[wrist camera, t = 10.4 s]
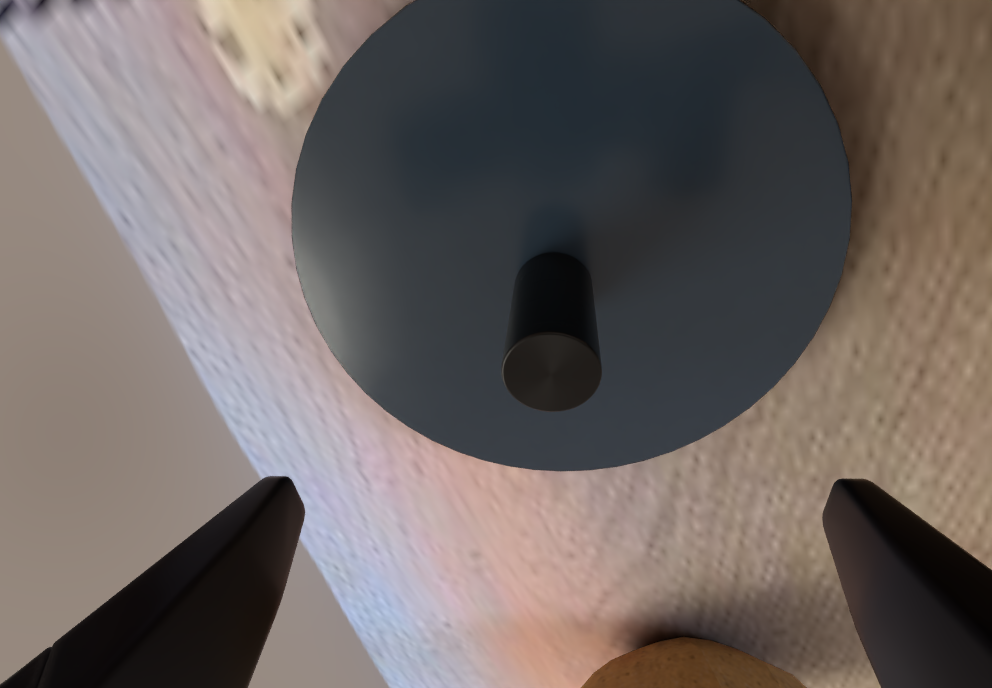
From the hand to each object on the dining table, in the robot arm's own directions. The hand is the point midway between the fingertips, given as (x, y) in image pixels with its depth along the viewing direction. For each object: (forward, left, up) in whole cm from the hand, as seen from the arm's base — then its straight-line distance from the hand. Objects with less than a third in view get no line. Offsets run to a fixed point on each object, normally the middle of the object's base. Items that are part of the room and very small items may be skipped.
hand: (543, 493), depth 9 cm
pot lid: (0, 0, -9) cm, 9 cm away
